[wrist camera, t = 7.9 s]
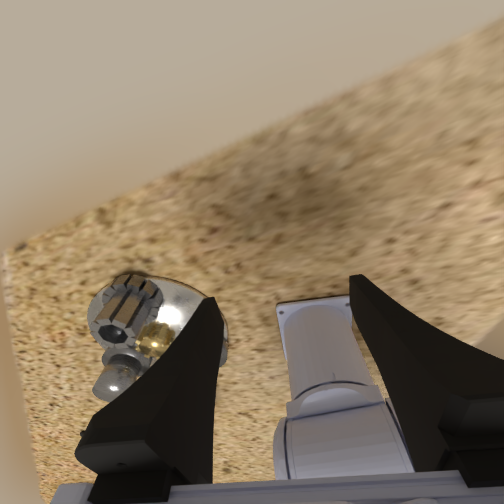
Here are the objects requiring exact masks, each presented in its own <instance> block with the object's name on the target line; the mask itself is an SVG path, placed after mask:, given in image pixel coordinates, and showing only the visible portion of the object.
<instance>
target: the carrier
mask: <svg viewBox="0 0 504 504" xmlns="http://www.w3.org/2000/svg"><path fill="white" fill-rule="evenodd" d="M142 277H145V282H146V281H147V280H148V279H149V280H151V281H152V282H153V283H155V284H156V285H157V288H156V289H158V288H160V290H161V292H162V294H163V296H164V297H163V299H164V302H163V306H162V309H161V311H160V313H159V315H158V316H157V318H156V319H155V320H154V321H152V322H151V323H149V322H148V324H145V325H143V327H142V329H141V331H140V333H139V335H138V337H137V339H136V341H135V342H134V344H133V345H132V346H129V348H122V349H117V348H116V346H115V345H114V347H113V348H110V347H108V346H105V345H103V344H101V342H102V340H100V341H97V342H98V343H99V344H100V345H101V346H102V347H103V348H104V349H105V350H106V351H105V352H104V354H103V356H102V363H103V364H104V366H105V368H104V369H103V371H102V373H101V374H100V376H99V378H98V380H97V381H96V383H95V385H94V387H93V389H92V392H93V394H94V395H95V396H96V397H98V398H99V399H101V400H104V401H107V402H111V401H113V400H114V399H115V398H117V397H118V396H119V395H120V394H122V393H123V392H124V391H125V390H126V389H127V388H129V387H130V386H131V385H132V384H133V383H134V382H135V381H136V380H137V377H139V376H142V375H143V374H144V373H145V372H146V371H147V370H148V369H149V368H150V367H151V366H152V365H153V364H154V363H155V362H156V361H157V360H158V359H159V358H160V356H161V355H162V354H163V353H164V352H165V351H166V350H167V349H168V347H169V346H170V345H171V344H172V342H173V341H174V340H175V338H176V337H177V336H178V335H179V333H180V332H181V331H182V329H183V328H184V326H185V325H186V323H187V322H188V321H189V319H190V318H191V316H192V315H193V313H194V312H195V310H196V309H197V307H198V306H199V304H200V303H201V301H202V300H203V298H208V297H206V296H205V295H203V294H202V293H201V292H199V291H197V290H196V289H194V288H192V287H190V286H188V285H185V284H183V283H180V282H177V281H174V280H171V279H166V278H162V277H154V276H142ZM108 286H109V285H107V286H105V287H104V288H103V289H101V290H100V291H99V293H98V294H97V295H96V296H95V297H94V298H93V300H92V302H91V303H90V305H89V308H88V314H87V319H88V325H89V328H90V327H91V325H92V323H93V321H94V320H95V318H96V317H97V316H98V314H99V313H100V312H101V310H102V309H103V308H104V306H103V304H104V303H102V294H103V292H104V291H105V289H106V288H107V287H108ZM220 313H221V311H220ZM221 315H222V313H221ZM222 318H223V320H224V340H223V347H222V353H221V359H220V365H219V367H221V366H222V365H224V363H225V362H226V360H227V354H228V342H227V337H228V328H227V324H226V321H225V319H224V316H223V315H222ZM90 331H92V330H90Z"/></svg>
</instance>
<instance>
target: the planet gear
mask: <svg viewBox="0 0 504 504" xmlns="http://www.w3.org/2000/svg"><path fill="white" fill-rule="evenodd" d="M156 288H157V285H156V284H155V283H153V282H152V281H151V280H149V279H148V280H147V281H146V282H145V277H142V276H138V275H135V274H134V275H133V277H132V276H131V274H128V275H121V276H119V278H118V277H117V278H115V279H114V280H113V281H112V282H111V283H110V284H109V286H108V287H107V288H106V289H105V291H104V292H103V294H102V303H104V304H103V306H104V308H103V309H102V310H101V312H100V313H99V314H98V316H97V317H96V318H95V320H94V321H93V323H92V325H91V327H90V330H92V331H91V332H90V333H91V335H92V336H93V337H94V338H95V340H96V341H100V340H102V342H101V344H103V345H105V346H108V347H110V348H113V347H114V345H115V346H116V348H117V349H122V348H129V346H132V345H133V344H134V342H135V341H136V339H137V337H138V335H139V333H140V331H141V329H142V327H143V325H145V324H148V322H149V323H151V322H152V321H154V320H155V319H156V318H157V316H158V315H159V313H160V311H161V309H162V306H163V302H164V299H163V297H164V296H163V294H162V292H161V290H160V288H158V289H156Z"/></svg>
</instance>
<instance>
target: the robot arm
mask: <svg viewBox="0 0 504 504" xmlns="http://www.w3.org/2000/svg"><path fill="white" fill-rule="evenodd" d="M346 303H348V304H346ZM276 311H277V317H278V322H279V327H280V333H281V338H282V344H283V349H284V354H285V359H286V360H287V364H288V373H289V382H290V390H291V399H292V401H291V402H287V403H286V408H287V417H283V418H281V419H280V420H279V422H278V426H277V428H276V430H275V433H274V439H273V460H274V470H275V477H276V480H270V481H252V482H234V483H216V484H213V428H214V408H215V394H216V384H217V377H218V371H219V365H220V359H221V353H222V347H223V340H224V320H223V318H222V315H221V313H220V310H219V308H218V305H217V303H216V300H215V298H214V297H209V298H203V300H202V301H201V303H200V304H199V306H198V307H197V309H196V310H195V312H194V313H193V315H192V316H191V318H190V319H189V321H188V322H187V323H186V325H185V326H184V328H183V329H182V331H181V332H180V333H179V335H178V336H177V337H176V338H175V340H174V341H173V342H172V344H171V345H170V346H169V347H168V349H167V350H166V351H165V352H164V353H163V354H162V355H161V356H160V358H159V359H158V360H157V361H156V362H155V363H154V364H153V365H152V366H151V367H150V368H149V369H148V370H147V371H146V372H145V373H144V374H143V375H142V376H141V377H140V378H139V379H138V380H136V381H135V382H134V383H133V384H132V385H131V386H130V387H129V388H127V389H126V390H125V391H124V392H123V393H122V394H120V395H119V396H118V397H117V398H115V399H114V400H113V401H111V402H110V403H109V404H108V405H106V406H105V407H104V408H102V409H101V410H100V411H98V412H97V413H96V414H94V415H93V417H92V419H91V420H90V422H89V424H88V426H87V428H86V430H85V432H84V434H83V436H82V438H81V440H80V442H79V444H78V446H77V448H76V450H75V453H74V454H75V457H76V459H77V460H78V461H79V462H80V463H81V464H83V465H84V466H86V467H87V468H89V469H91V470H92V471H94V472H95V473H97V474H98V476H97V478H96V480H95V483H94V484H92V483H68V484H61V485H59V487H58V489H57V491H56V493H55V495H54V497H53V499H52V501H51V502H50V504H504V360H502V359H500V358H498V357H495V356H493V355H491V354H488V353H486V352H484V351H482V350H479V349H477V348H475V347H473V346H471V345H468V344H466V343H464V342H462V341H460V340H458V339H456V338H454V337H452V336H450V335H449V334H447V333H445V332H443V331H441V330H439V329H437V328H436V327H434V326H432V325H430V324H429V323H427V322H425V321H424V320H422V319H420V318H419V317H417V316H416V315H414V314H413V313H411V312H410V311H408V310H407V309H406V308H404V307H403V306H401V305H400V304H399V303H397V302H396V301H395V300H393V299H392V298H391V297H389V296H388V295H387V294H385V293H384V292H383V291H382V290H380V289H379V288H378V287H377V286H376V285H374V284H373V283H372V282H371V281H370V280H369V279H367V278H366V277H365V276H364V275H362V274H359V275H352V276H349V296H339V297H331V298H323V299H315V300H307V301H299V302H291V303H283V304H278V305H277V306H276ZM280 311H283V312H280ZM352 314H353V316H354V319H355V322H356V324H357V326H358V328H359V330H360V332H361V334H362V336H363V338H364V340H365V342H366V344H367V346H368V348H369V350H370V352H371V354H372V356H373V358H374V360H375V362H376V364H377V366H378V369H379V371H380V373H381V376H382V378H383V381H384V384H385V386H386V389H387V391H388V394H389V397H390V398H385V401H384V399H383V397H382V394H381V392H380V390H379V387H378V385H374V382H373V380H372V377H371V375H370V373H369V370H368V368H367V365H366V363H365V360H364V358H363V356H362V353H361V351H360V348H359V346H358V344H357V341H356V339H355V336H354V334H353V331H352ZM385 402H386V404H385Z"/></svg>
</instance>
